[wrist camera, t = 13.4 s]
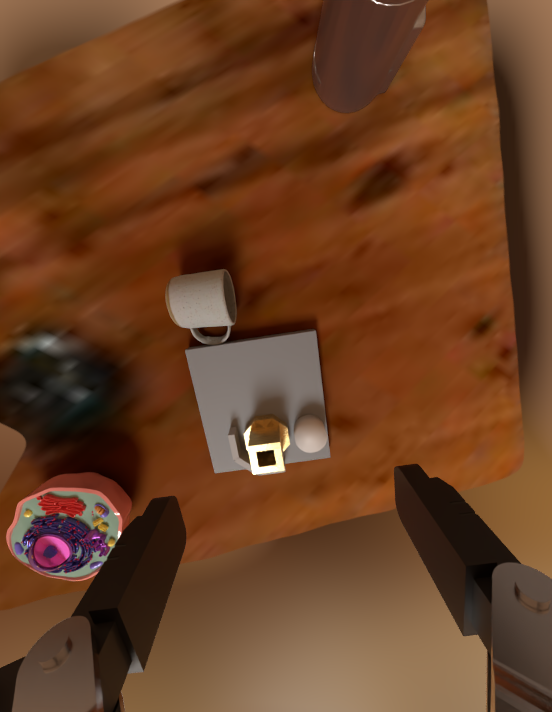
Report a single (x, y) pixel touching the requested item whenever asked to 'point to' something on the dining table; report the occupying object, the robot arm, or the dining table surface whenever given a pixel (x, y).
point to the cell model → (69, 525)
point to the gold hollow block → (266, 443)
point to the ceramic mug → (202, 302)
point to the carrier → (260, 395)
